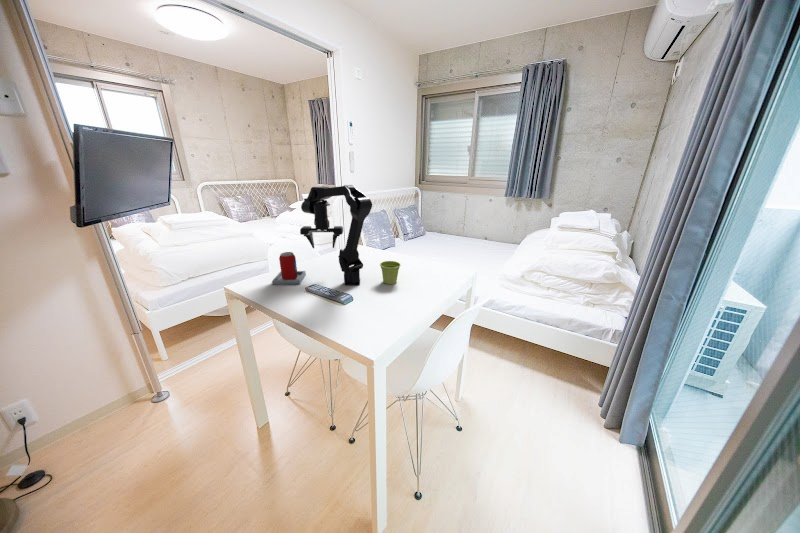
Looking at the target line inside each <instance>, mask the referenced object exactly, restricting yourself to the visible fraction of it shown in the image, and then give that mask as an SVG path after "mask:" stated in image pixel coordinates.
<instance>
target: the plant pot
mask: <svg viewBox="0 0 800 533" xmlns="http://www.w3.org/2000/svg"><path fill="white" fill-rule="evenodd" d="M401 265H402V264H401V263H400V262H398V261H394V260H384V261H382V262H380V263H379V266H380V268H381V272H382V282H383V283H385V285H394V284H396V283H397V280H398V275H399V269H400V267H401Z"/></svg>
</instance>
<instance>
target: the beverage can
mask: <svg viewBox="0 0 800 533" xmlns="http://www.w3.org/2000/svg"><path fill="white" fill-rule="evenodd" d="M278 260H279V267H280V271H281V274H282V279H284V280H294V279H296V278H297V277H298V275H297V271H298V266H297V260H296V256H295V254H294V252H293V251H285V252H282V253H280V254H279V258H278Z"/></svg>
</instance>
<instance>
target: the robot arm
mask: <svg viewBox="0 0 800 533" xmlns="http://www.w3.org/2000/svg"><path fill="white" fill-rule="evenodd" d="M339 196H344V197H345V202H346V204H347V205H348V206H349V212H350V215H351V222H350V226H349V231H348V235H347V238H346V239H347V240H346V244H345V247H344V248H340V250H339V254H338V262H339V267H340V270H341V272H343V282H344V283H345V284H344V285H345V286H360V285H361V274H360V272H361V271H360V270H362V269H363V267H364V263H363V262H362V260H361V259H360V254H359V251H358V246H359V242H360V239H361V238H360V237H361V234H362V229H363V226H364V223H365V222H364V221H365V220H366V218H367V217H368V216H369V215H370V213H371V210H372V209H373V208H372V207H373V202H372V200H371V199H370V197H368V196H367V195H366V194H365V193H364V192H362V191H360V190H359V189H358V188H356V186H354V185H353V184H344V185H341V186H334V187H329V186H312V187H311V188H310V191H309V193H308V195H307V197H306V198H303V202H302V203H301V205H300V208H301V211H302V212H303V213H305V214H311V215H314V219H313V220H314V221H313V224H314V226H315V227H314V228H313V227H312V226H309V225H307V226H306V225H305V226H304V225H303V226H302V227H301V228H300V230H299V233H300V235H302V236H303V237H305V238H306V239H307V240H308V242H309V243H310V244H309V245H311V247H312V248H313V249H315V242H314V237H313V233H333V234H332V248H333V249H335V244H336V242H337V239H338V237H340V236H341V235H343V233H344V227H343V226H342V225H335V226H333V227H330V220H329V217H328V207H329V206H330V205H331V204H330V203H329V202H328V201H327V199H331V197H339Z"/></svg>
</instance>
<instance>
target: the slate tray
mask: <svg viewBox="0 0 800 533" xmlns="http://www.w3.org/2000/svg"><path fill="white" fill-rule="evenodd" d="M306 272H307V271H306V270H297V275H298V277H297V278H296V279H294V280H284V279H282V274H281V270H280V272H278V274H277V275H276V276H275V277H274V278H273V280H272V281H271V283H272V286H286V285H287V286H288V285H289V286H291V285H293V286H295V285H301V283H302V282H303V280H304V278H305V277H306V276H307V274H306Z"/></svg>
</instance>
